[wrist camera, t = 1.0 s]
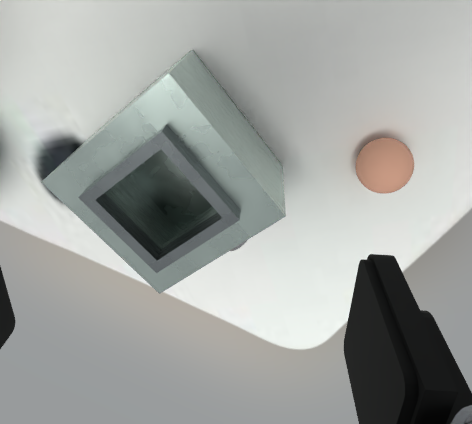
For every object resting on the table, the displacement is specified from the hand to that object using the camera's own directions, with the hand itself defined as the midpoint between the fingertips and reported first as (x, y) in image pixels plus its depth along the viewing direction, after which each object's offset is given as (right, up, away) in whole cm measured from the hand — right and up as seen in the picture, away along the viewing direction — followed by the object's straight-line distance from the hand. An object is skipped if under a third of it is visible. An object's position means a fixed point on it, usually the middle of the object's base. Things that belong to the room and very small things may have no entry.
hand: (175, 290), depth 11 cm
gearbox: (-3, +7, +26) cm, 27 cm away
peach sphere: (+13, +7, +25) cm, 29 cm away
